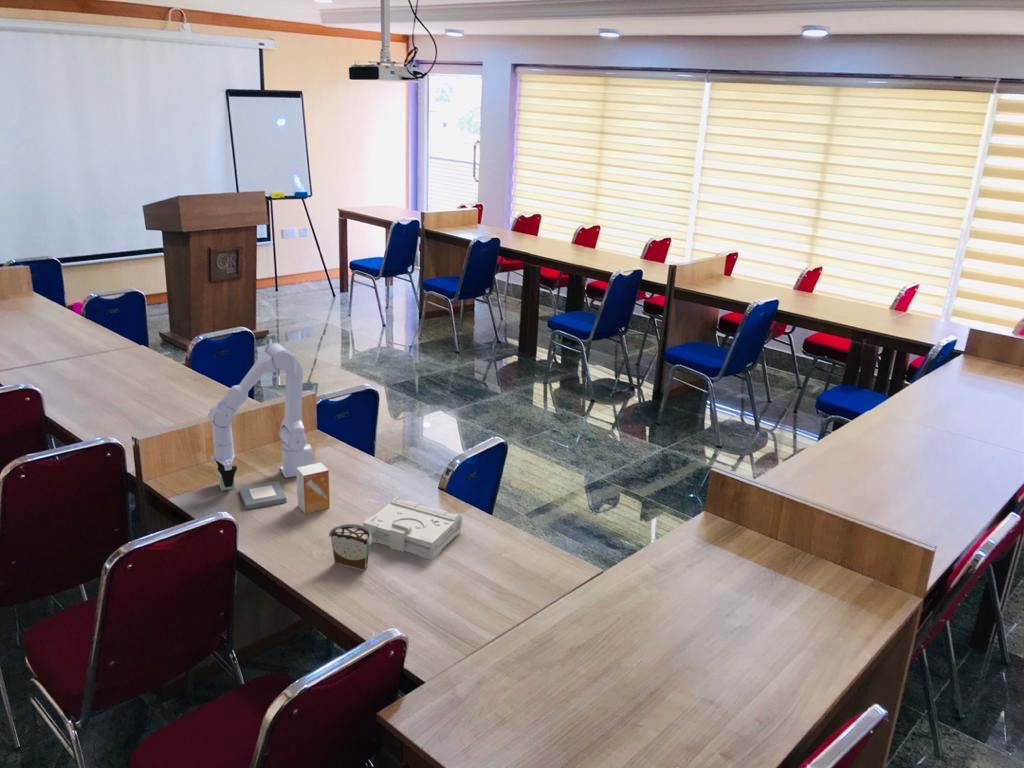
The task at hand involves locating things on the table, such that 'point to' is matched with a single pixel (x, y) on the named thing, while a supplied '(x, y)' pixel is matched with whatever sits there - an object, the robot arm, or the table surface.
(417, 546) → the book
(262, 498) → the slate base
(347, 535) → the food container
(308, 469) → the small box
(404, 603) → the table surface
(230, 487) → the sage block
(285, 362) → the robot arm
